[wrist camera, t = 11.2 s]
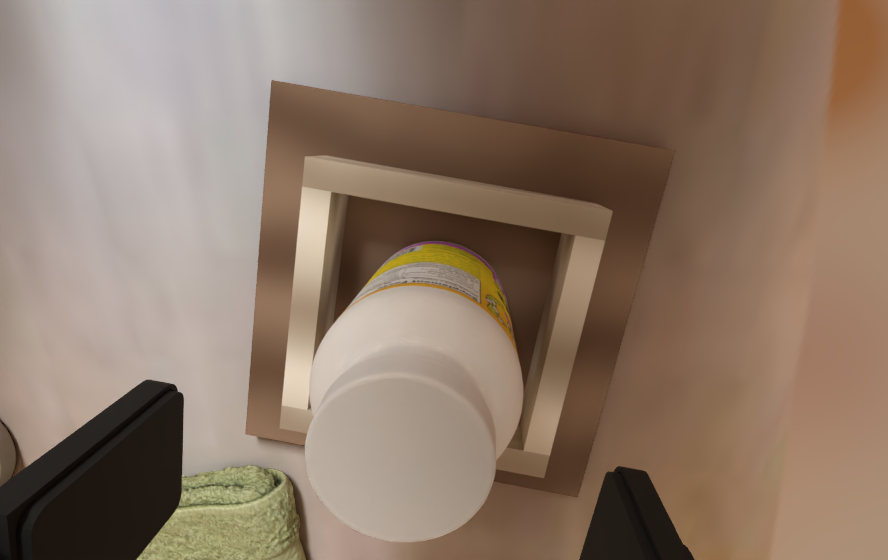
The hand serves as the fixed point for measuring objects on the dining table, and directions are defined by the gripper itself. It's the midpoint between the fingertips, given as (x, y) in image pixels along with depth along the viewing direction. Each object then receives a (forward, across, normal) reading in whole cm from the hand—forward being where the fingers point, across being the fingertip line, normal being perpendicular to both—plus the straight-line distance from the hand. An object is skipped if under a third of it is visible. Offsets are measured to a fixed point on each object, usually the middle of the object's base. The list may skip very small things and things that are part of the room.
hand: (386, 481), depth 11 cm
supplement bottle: (+14, 0, +1) cm, 14 cm away
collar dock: (+15, 0, +1) cm, 15 cm away
